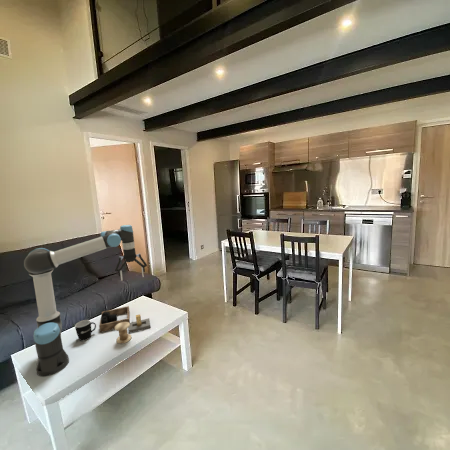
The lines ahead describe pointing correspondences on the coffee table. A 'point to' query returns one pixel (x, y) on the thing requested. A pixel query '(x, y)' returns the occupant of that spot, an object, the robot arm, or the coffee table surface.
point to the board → (134, 327)
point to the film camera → (108, 317)
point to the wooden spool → (123, 332)
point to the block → (138, 320)
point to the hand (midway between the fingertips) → (132, 278)
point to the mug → (84, 329)
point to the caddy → (112, 324)
